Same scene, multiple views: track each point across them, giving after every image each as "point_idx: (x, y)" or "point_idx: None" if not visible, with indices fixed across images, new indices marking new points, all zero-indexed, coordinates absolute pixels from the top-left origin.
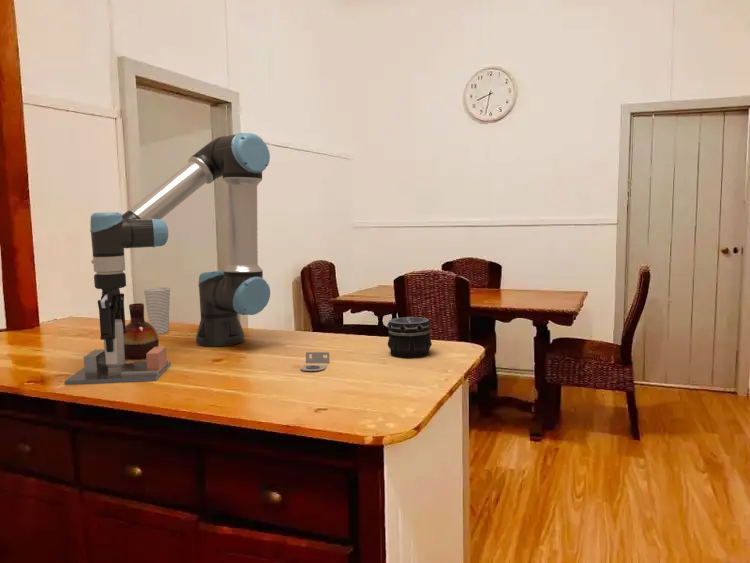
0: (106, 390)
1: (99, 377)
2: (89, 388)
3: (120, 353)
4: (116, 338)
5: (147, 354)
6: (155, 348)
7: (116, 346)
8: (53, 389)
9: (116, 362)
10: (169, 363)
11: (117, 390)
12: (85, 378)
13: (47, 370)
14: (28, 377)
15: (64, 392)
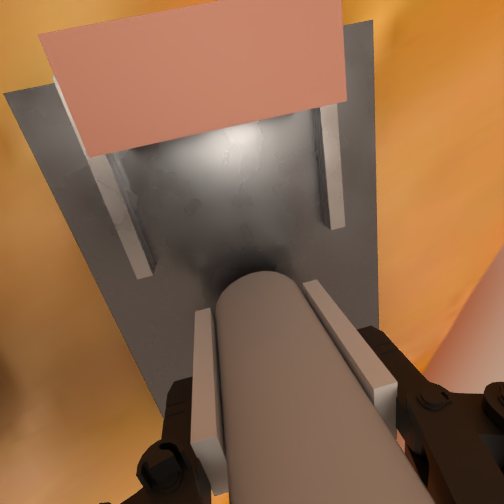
0: (463, 195)
1: (349, 296)
2: (425, 270)
3: (298, 305)
4: (363, 391)
5: (344, 90)
6: (150, 113)
7: (351, 339)
8: (415, 362)
9: (318, 285)
10: (37, 88)
11: (474, 150)
12: None
13: (213, 497)
14: None
15: (453, 315)
